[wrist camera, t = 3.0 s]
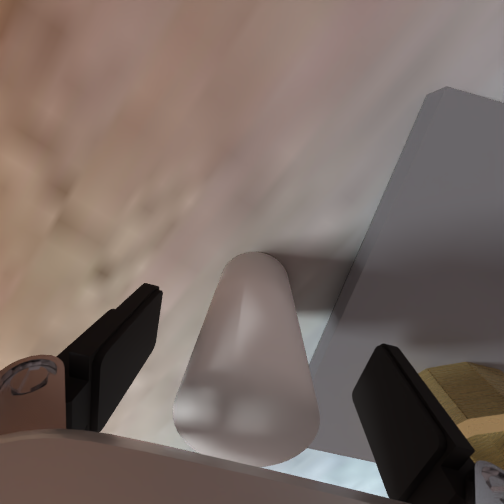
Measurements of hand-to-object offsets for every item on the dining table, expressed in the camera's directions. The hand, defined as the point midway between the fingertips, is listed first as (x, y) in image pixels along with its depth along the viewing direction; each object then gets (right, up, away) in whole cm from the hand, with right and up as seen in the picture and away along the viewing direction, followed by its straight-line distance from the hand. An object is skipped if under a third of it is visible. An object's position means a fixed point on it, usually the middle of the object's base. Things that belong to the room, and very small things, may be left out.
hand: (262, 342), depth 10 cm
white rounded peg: (0, +2, +4) cm, 4 cm away
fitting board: (+12, -1, +4) cm, 13 cm away
